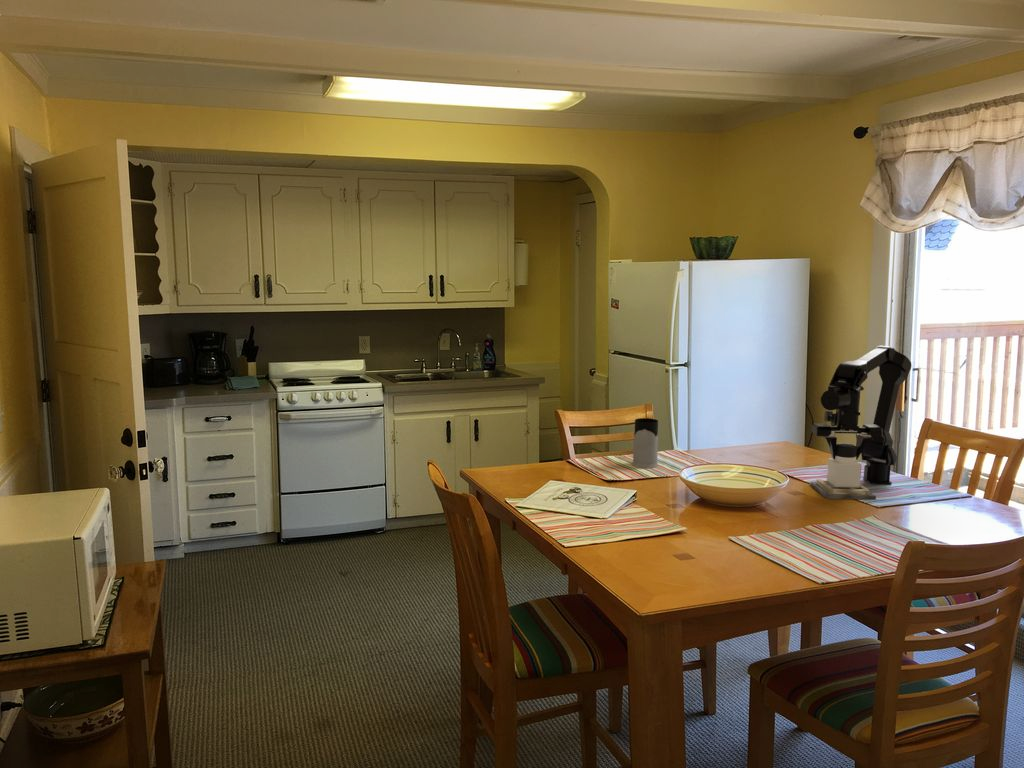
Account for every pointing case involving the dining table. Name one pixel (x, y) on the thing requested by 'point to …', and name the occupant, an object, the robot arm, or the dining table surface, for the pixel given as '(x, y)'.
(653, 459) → the glass holder
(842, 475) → the medicine bottle
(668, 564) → the dining table surface
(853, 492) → the grey square tray
